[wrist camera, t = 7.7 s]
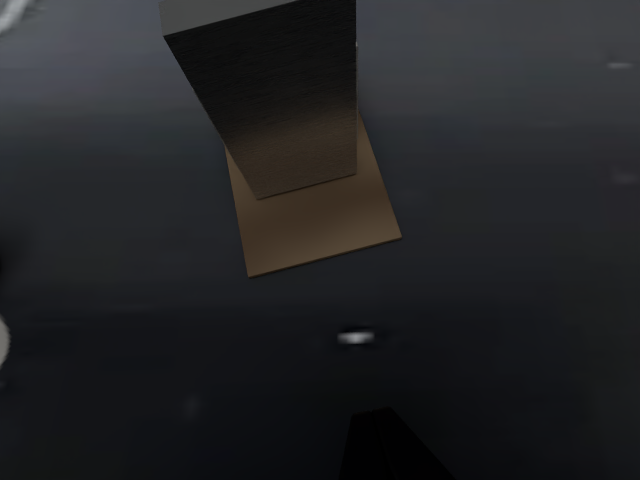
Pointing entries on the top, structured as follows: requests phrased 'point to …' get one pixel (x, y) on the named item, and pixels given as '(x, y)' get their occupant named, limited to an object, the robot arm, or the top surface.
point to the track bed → (314, 216)
